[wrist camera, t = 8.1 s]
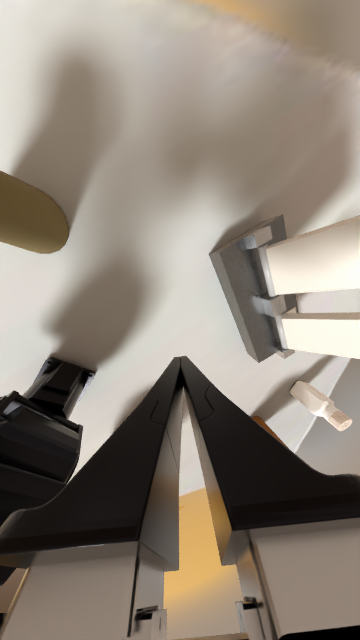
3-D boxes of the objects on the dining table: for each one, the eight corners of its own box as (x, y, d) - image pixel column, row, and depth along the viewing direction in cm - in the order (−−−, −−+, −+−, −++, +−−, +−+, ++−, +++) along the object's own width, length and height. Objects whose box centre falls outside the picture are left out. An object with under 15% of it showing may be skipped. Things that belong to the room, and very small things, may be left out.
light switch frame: (247, 353, 28) (266, 369, 24) (208, 254, 20) (226, 251, 16) (286, 329, 28) (312, 341, 24) (263, 221, 20) (297, 209, 16)
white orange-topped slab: (280, 349, 24) (390, 365, 16) (272, 317, 21) (400, 318, 13) (283, 343, 24) (388, 356, 17) (275, 311, 22) (397, 309, 14)
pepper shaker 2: (297, 393, 37) (343, 433, 28) (287, 391, 36) (333, 432, 27) (306, 381, 36) (358, 418, 27) (296, 379, 35) (347, 416, 26)
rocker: (267, 297, 20) (406, 287, 12) (255, 250, 17) (426, 193, 9) (271, 292, 20) (404, 279, 12) (260, 245, 18) (422, 189, 10)
